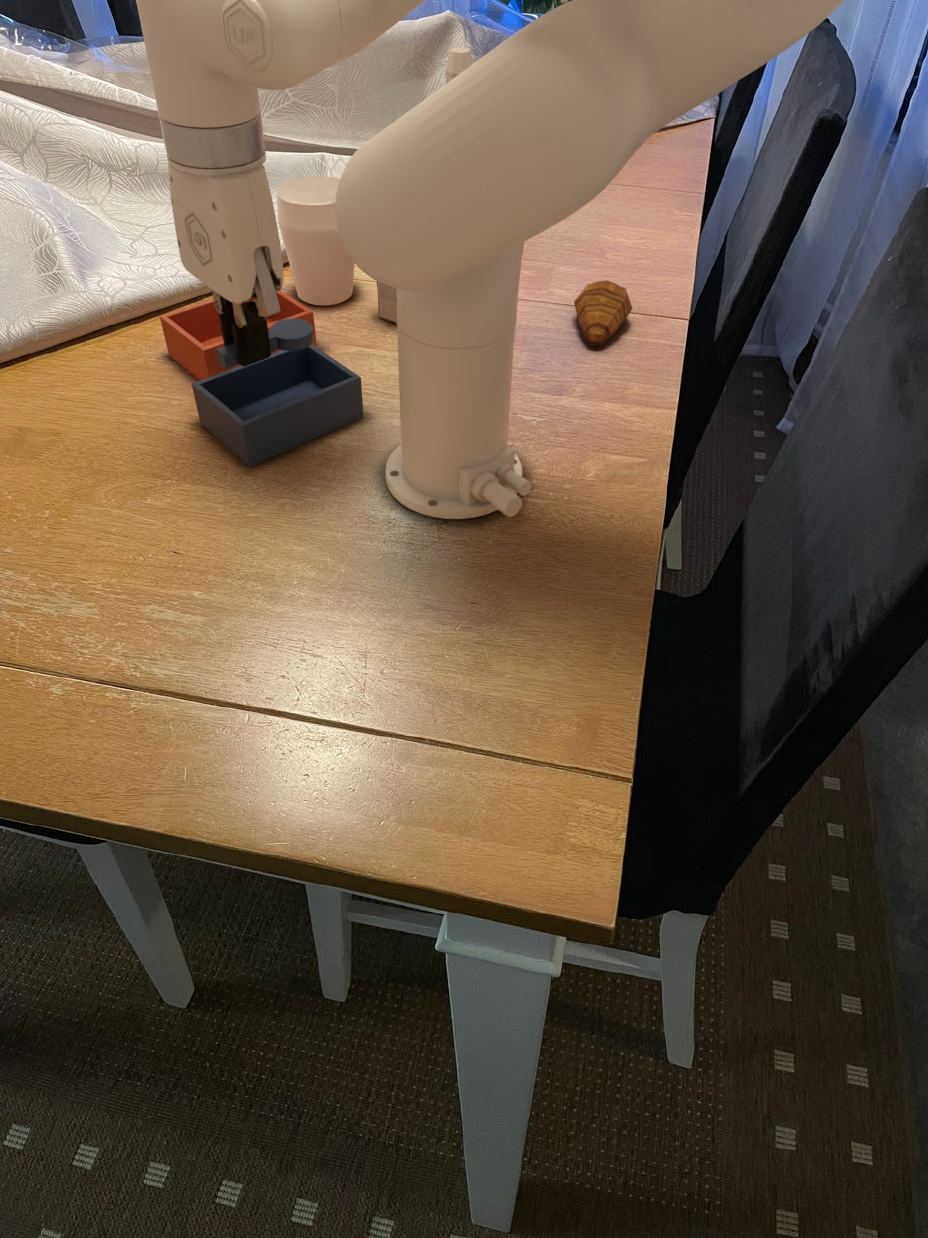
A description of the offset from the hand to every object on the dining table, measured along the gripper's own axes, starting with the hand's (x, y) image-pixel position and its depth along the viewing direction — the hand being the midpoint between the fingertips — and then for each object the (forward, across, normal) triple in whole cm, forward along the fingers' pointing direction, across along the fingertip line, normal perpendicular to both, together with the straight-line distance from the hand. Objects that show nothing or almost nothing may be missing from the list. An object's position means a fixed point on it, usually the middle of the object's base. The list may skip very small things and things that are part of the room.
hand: (248, 355), depth 81 cm
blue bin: (+8, 0, +2) cm, 8 cm away
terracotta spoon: (+8, -14, +6) cm, 17 cm away
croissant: (+8, +6, +42) cm, 43 cm away
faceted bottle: (+8, -22, +44) cm, 50 cm away
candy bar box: (+8, -10, +28) cm, 31 cm away
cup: (+8, -20, +21) cm, 30 cm away
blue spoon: (0, 0, +2) cm, 2 cm away
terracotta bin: (+8, -14, +6) cm, 17 cm away
